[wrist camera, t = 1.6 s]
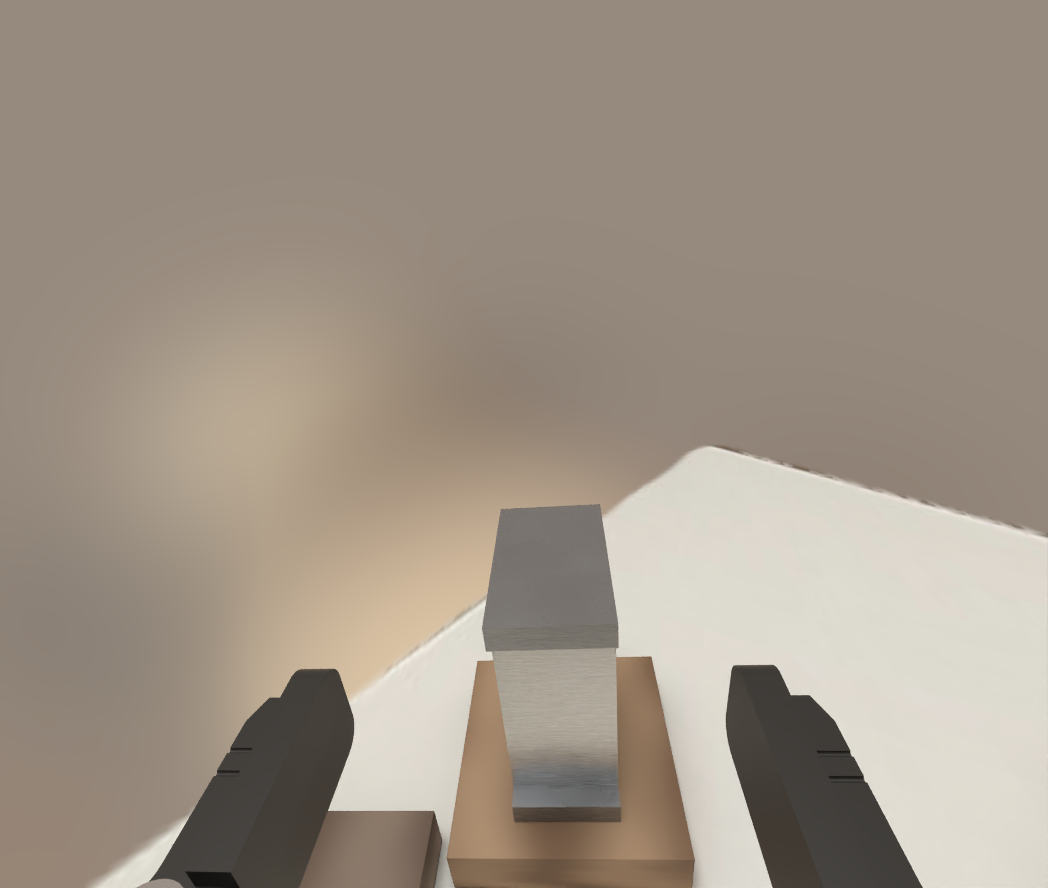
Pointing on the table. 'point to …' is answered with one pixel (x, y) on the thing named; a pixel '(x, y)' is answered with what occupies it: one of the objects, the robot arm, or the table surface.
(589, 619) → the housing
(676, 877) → the stand
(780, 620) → the table surface
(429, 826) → the stand
